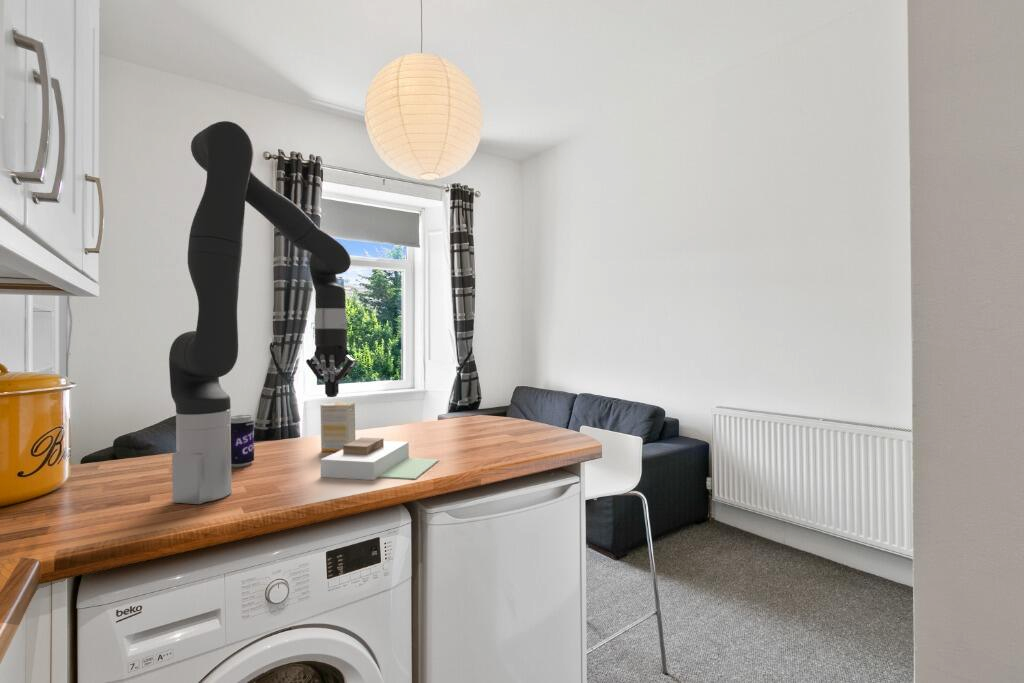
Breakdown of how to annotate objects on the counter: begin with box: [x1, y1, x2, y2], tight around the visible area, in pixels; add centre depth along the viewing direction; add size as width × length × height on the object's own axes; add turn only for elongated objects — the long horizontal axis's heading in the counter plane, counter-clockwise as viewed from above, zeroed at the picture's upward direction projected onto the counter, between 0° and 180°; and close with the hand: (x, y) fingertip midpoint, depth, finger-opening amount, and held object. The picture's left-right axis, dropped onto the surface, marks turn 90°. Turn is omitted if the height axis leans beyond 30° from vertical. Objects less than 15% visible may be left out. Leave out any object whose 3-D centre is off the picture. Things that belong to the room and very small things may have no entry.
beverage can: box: [231, 414, 255, 468], centre depth 120 cm, size 6×6×12 cm
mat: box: [378, 457, 440, 480], centre depth 117 cm, size 16×9×1 cm, turn 170°
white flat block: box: [320, 440, 410, 481], centre depth 118 cm, size 20×13×4 cm, turn 170°
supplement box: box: [320, 402, 356, 452], centre depth 135 cm, size 8×5×13 cm, turn 84°
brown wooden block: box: [343, 437, 385, 455], centre depth 119 cm, size 9×6×2 cm, turn 170°
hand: (332, 396), depth 120 cm, fingers closed
